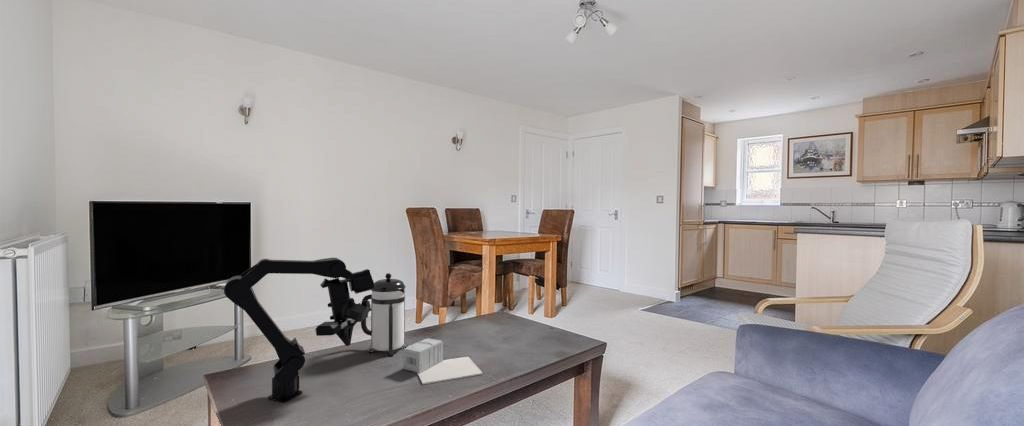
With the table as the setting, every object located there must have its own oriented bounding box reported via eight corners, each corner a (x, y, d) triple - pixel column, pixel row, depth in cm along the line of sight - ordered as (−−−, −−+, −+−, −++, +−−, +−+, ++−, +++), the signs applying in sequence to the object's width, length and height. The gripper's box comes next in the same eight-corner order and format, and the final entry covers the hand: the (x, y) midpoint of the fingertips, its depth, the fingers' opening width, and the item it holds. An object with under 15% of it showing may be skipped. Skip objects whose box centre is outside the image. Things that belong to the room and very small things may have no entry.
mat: (422, 384, 126) (422, 383, 126) (413, 366, 141) (413, 364, 141) (482, 374, 134) (482, 372, 134) (468, 357, 149) (468, 356, 149)
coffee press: (405, 341, 167) (405, 269, 167) (410, 354, 152) (410, 275, 152) (360, 346, 161) (360, 271, 160) (361, 360, 146) (361, 277, 146)
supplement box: (402, 347, 137) (426, 337, 148) (403, 369, 137) (426, 357, 148) (420, 351, 133) (443, 340, 145) (420, 373, 133) (443, 361, 145)
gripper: (343, 307, 115) (352, 359, 116) (379, 287, 133) (386, 332, 134) (310, 308, 117) (319, 359, 119) (349, 289, 135) (357, 333, 137)
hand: (348, 345), depth 127 cm, fingers closed
